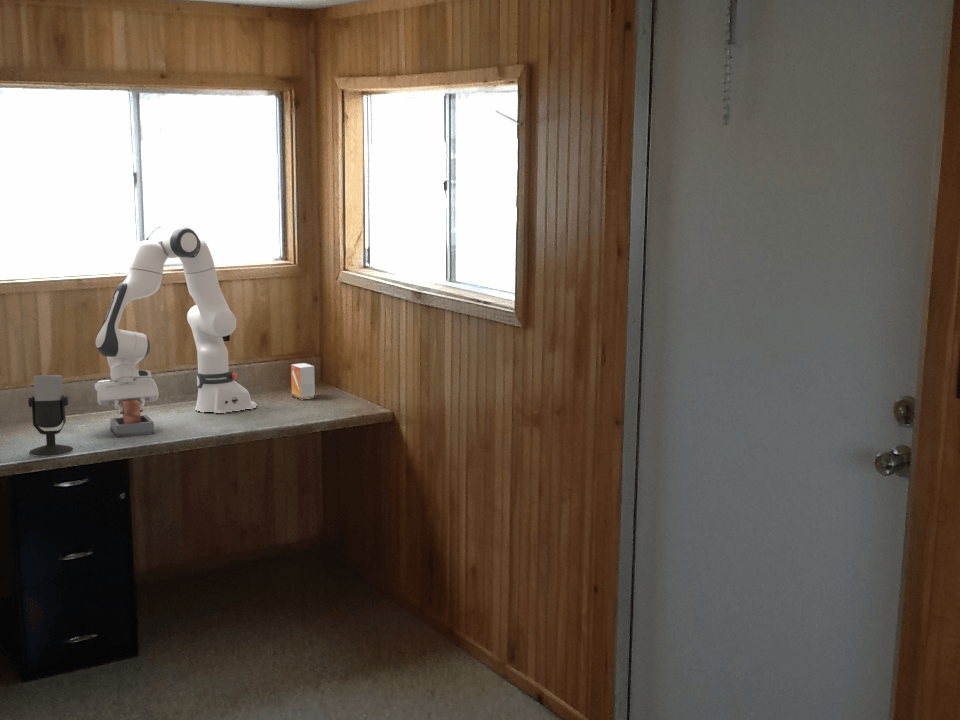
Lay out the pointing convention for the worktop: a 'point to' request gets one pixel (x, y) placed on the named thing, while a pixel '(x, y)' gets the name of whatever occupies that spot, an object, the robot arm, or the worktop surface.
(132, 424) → the bin
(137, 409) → the red block
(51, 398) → the microphone
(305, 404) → the worktop surface
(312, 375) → the small box
